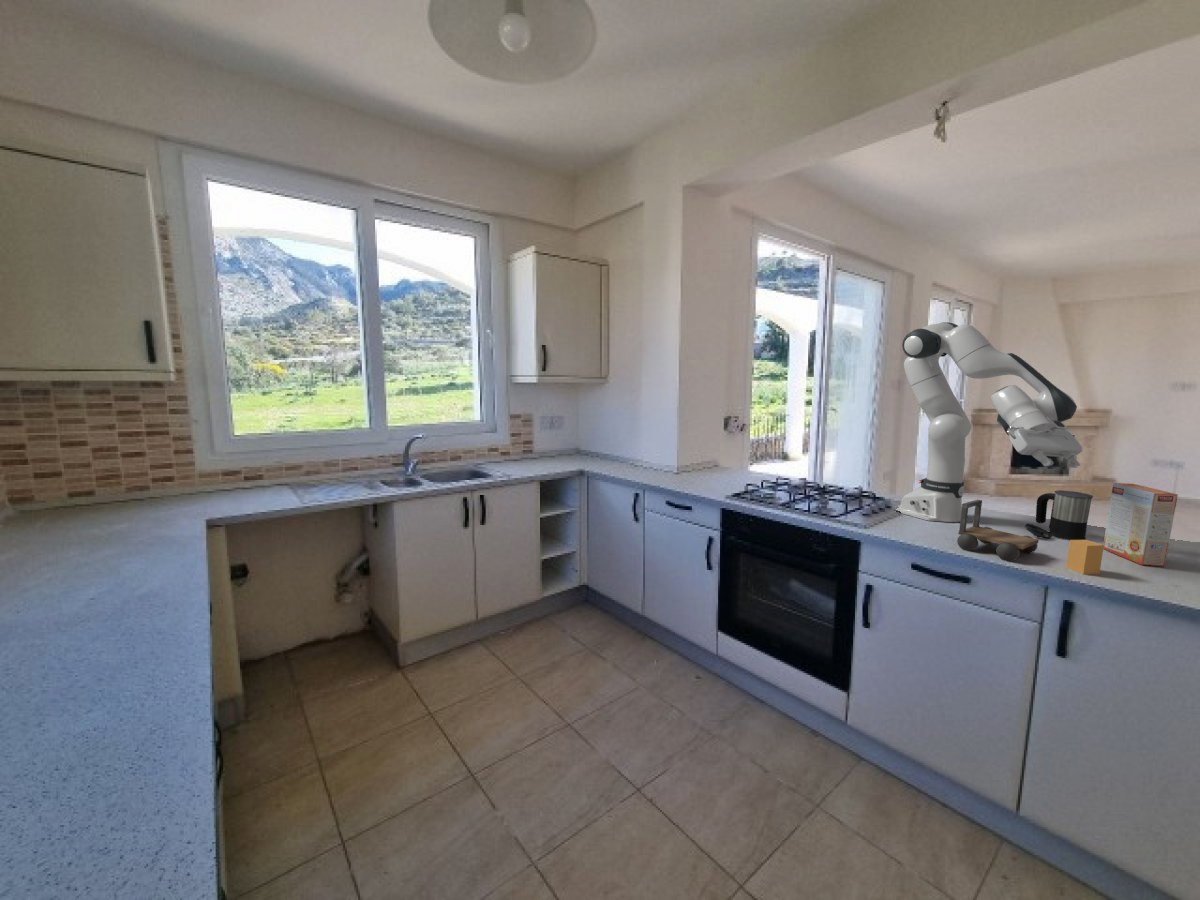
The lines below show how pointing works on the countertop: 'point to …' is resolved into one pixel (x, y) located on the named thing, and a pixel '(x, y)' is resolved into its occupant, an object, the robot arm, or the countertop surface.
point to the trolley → (992, 536)
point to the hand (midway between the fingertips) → (1062, 465)
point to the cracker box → (1140, 523)
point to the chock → (1085, 556)
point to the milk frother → (1063, 515)
